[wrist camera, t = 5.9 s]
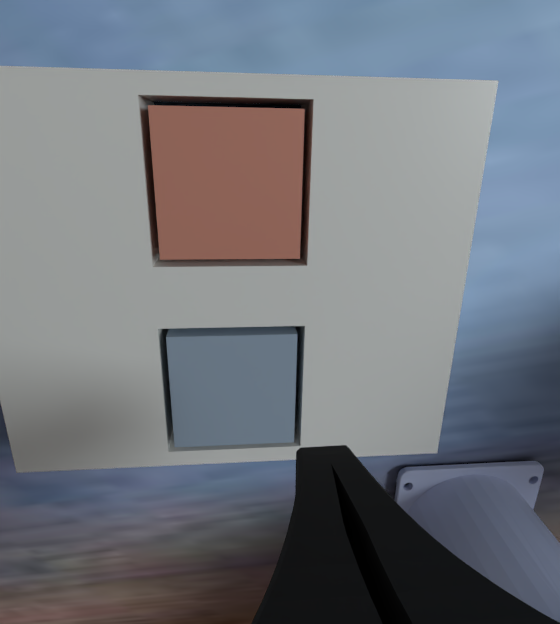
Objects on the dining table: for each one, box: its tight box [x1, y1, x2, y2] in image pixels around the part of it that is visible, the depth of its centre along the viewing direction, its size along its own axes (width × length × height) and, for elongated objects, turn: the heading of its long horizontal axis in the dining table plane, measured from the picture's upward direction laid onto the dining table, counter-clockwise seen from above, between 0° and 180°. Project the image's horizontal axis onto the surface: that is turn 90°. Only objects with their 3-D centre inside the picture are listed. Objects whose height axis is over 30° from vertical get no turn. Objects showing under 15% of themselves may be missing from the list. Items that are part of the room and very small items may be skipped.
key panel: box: [0, 66, 498, 473], centre depth 19 cm, size 15×18×3 cm
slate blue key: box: [166, 326, 297, 447], centre depth 20 cm, size 5×5×3 cm
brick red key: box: [148, 105, 305, 260], centre depth 17 cm, size 5×5×3 cm
